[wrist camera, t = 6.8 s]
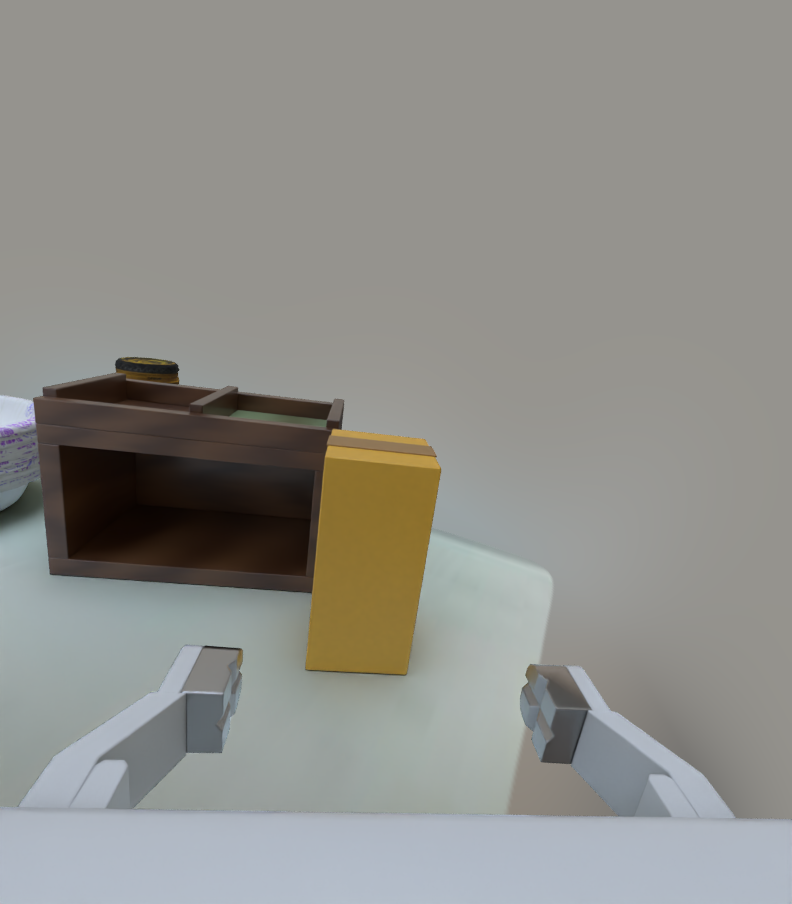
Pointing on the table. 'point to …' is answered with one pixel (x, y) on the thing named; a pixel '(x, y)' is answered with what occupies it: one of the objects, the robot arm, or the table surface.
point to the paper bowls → (17, 448)
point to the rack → (182, 482)
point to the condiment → (148, 369)
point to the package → (370, 551)
